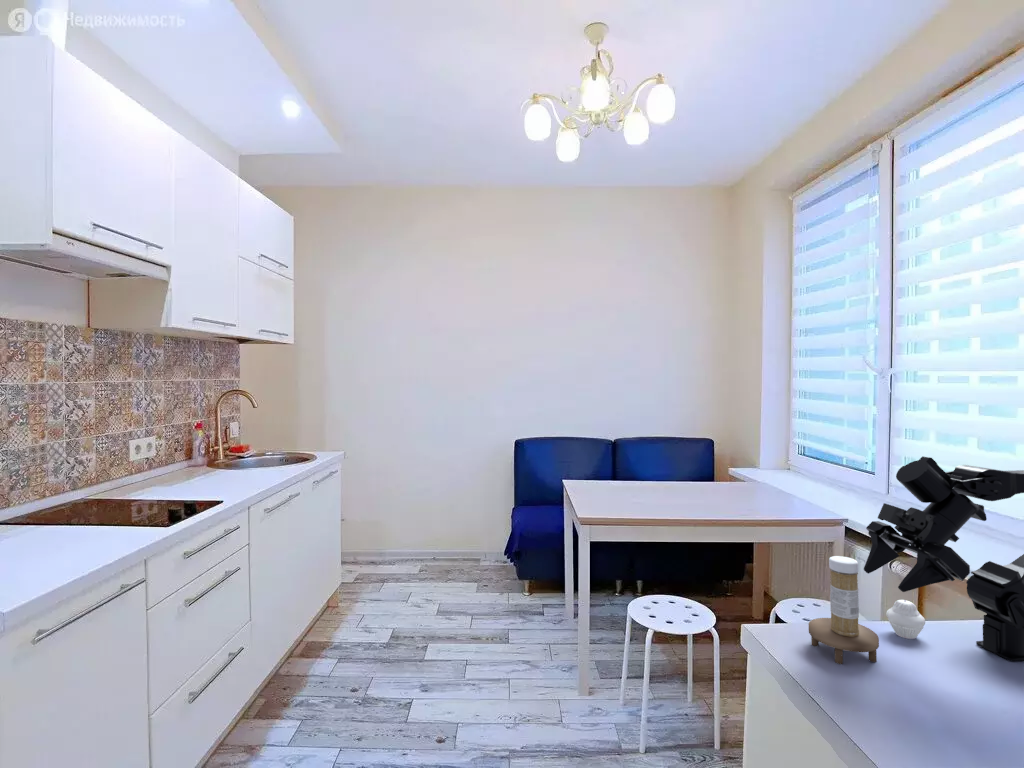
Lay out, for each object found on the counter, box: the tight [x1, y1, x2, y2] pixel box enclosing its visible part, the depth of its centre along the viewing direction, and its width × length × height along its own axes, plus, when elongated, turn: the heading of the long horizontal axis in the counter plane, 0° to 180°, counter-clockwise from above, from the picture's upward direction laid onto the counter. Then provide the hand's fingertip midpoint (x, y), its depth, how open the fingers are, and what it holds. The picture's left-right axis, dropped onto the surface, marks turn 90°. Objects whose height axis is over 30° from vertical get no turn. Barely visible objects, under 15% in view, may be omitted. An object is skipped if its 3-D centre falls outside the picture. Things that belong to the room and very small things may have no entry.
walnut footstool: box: [808, 617, 880, 665], centre depth 96 cm, size 11×11×4 cm
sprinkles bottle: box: [828, 555, 860, 637], centre depth 96 cm, size 5×5×14 cm
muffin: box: [886, 599, 926, 640], centre depth 102 cm, size 6×6×7 cm
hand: (882, 580), depth 96 cm, fingers open, 9 cm apart
